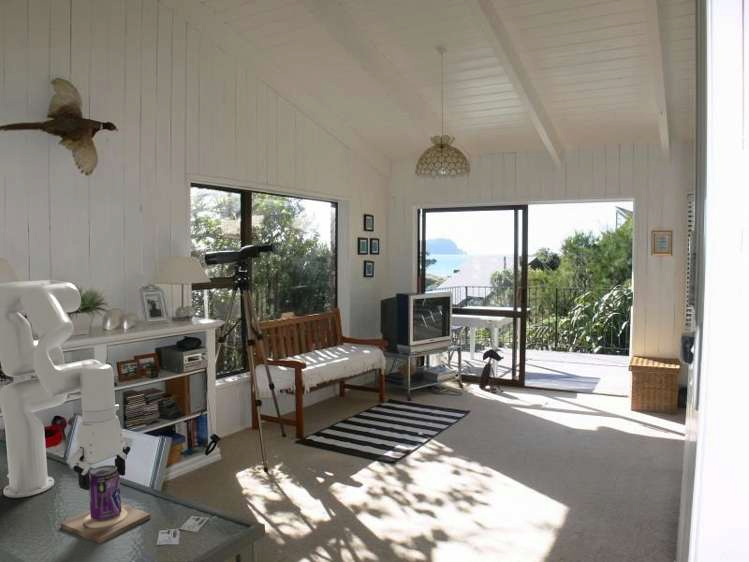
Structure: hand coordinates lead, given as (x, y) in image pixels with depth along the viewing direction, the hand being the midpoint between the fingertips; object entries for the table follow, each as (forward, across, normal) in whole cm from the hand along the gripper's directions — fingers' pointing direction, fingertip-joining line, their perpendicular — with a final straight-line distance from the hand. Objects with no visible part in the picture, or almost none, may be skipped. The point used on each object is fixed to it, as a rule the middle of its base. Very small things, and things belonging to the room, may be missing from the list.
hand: (103, 481), depth 146 cm
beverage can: (+9, 0, 0) cm, 9 cm away
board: (+11, 0, 0) cm, 11 cm away
